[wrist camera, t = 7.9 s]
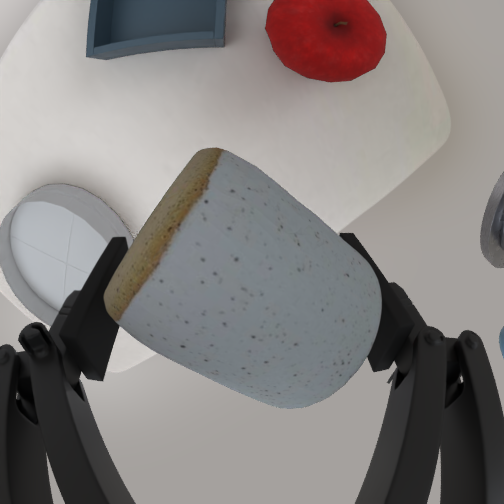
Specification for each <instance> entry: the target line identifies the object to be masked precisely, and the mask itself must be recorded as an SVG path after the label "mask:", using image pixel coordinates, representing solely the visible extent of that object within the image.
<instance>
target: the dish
mask: <svg viewBox="0 0 504 504" xmlns="http://www.w3.org/2000/svg"><path fill="white" fill-rule="evenodd" d="M125 236H126V239H127V244H128V249H129V248H130V246H131V245H132V243H133V238H132V235H131V233H130V232H129V231H128V229H127V228H126V226H125V225H124V223H123V222H122V220H121V219H120V217H119V216H118V215H117V214H116V213H115V212H114V211H113V210H112V209H111V208H110V207H109V206H108V205H107V204H106V203H105V202H104V201H102V200H101V199H100V198H98V197H96V196H94V195H93V194H91V193H89V192H88V191H86V190H84V189H82V188H78V187H75V186H71V185H67V184H52V185H46V186H43V187H41V188H39V189H37V190H34V191H33V192H31V193H30V194H29V195H27V196H26V197H24V198H23V199H22V200H21V201H20V202H19V204H18V205H17V206H15V207H14V208H13V209H12V210H11V211H10V212H9V213H8V214H7V216H6V217H5V218H4V219H3V222H2V224H1V227H0V266H1V268H2V271H3V274H4V276H5V279H6V281H7V283H8V284H9V286H10V288H11V289H12V291H13V292H14V294H15V296H16V297H17V298H18V299H19V300H20V301H21V303H22V304H23V305H24V306H25V307H26V308H27V309H28V310H29V311H30V312H31V313H33V314H34V315H35V316H36V317H37V318H39V319H40V320H41V321H43V322H45V323H46V324H48V325H50V326H52V324H53V322H54V320H55V318H56V316H57V314H59V313H58V312H59V311H60V309H61V308H62V305H63V303H64V301H65V300H66V298H67V297H68V296H69V295H70V294H71V293H72V292H73V291H74V290H81V289H82V287H83V285H84V284H85V282H86V280H87V278H88V277H89V275H90V273H91V271H92V270H93V268H94V266H95V265H96V263H97V261H98V260H99V258H100V256H101V255H102V253H103V251H104V250H105V248H106V247H107V245H108V243H109V242H110V240H111V239H112V237H125Z"/></svg>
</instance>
